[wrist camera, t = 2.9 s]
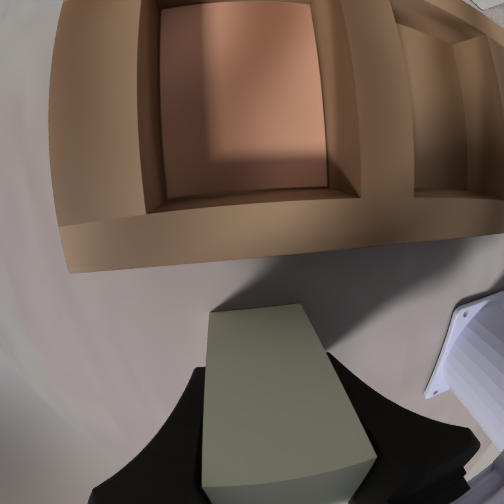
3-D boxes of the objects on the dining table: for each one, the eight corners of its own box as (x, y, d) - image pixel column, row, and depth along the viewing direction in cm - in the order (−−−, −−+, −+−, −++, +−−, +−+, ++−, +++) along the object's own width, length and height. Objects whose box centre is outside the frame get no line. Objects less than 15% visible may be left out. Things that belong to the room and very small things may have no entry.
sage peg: (300, 303, 12) (377, 457, 5) (298, 369, 13) (345, 505, 6) (209, 312, 12) (202, 486, 4) (220, 378, 13) (226, 524, 6)
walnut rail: (472, 42, 8) (508, 32, 5) (486, 216, 12) (526, 230, 9) (100, 8, 7) (70, -24, 4) (106, 243, 10) (69, 273, 7)
